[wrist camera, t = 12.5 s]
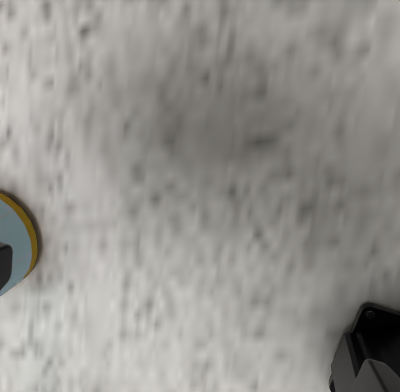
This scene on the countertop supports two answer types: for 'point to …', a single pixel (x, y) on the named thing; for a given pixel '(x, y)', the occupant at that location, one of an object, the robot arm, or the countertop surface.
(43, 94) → the countertop surface
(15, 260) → the bottle
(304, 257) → the countertop surface
